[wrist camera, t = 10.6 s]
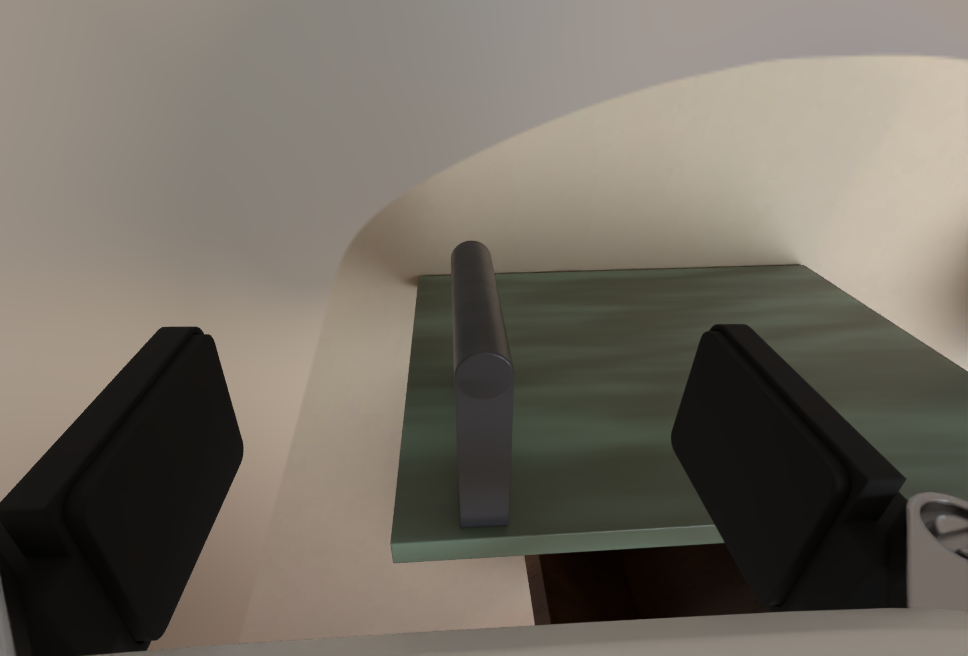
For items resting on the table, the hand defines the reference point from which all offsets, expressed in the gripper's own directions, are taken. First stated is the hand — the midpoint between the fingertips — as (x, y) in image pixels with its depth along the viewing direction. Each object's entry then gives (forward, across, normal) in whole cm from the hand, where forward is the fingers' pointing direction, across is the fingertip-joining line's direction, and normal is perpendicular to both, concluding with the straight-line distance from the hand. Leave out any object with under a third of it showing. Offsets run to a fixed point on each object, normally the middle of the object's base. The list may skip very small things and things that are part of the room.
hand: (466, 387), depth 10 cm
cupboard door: (+22, -11, +5) cm, 25 cm away
